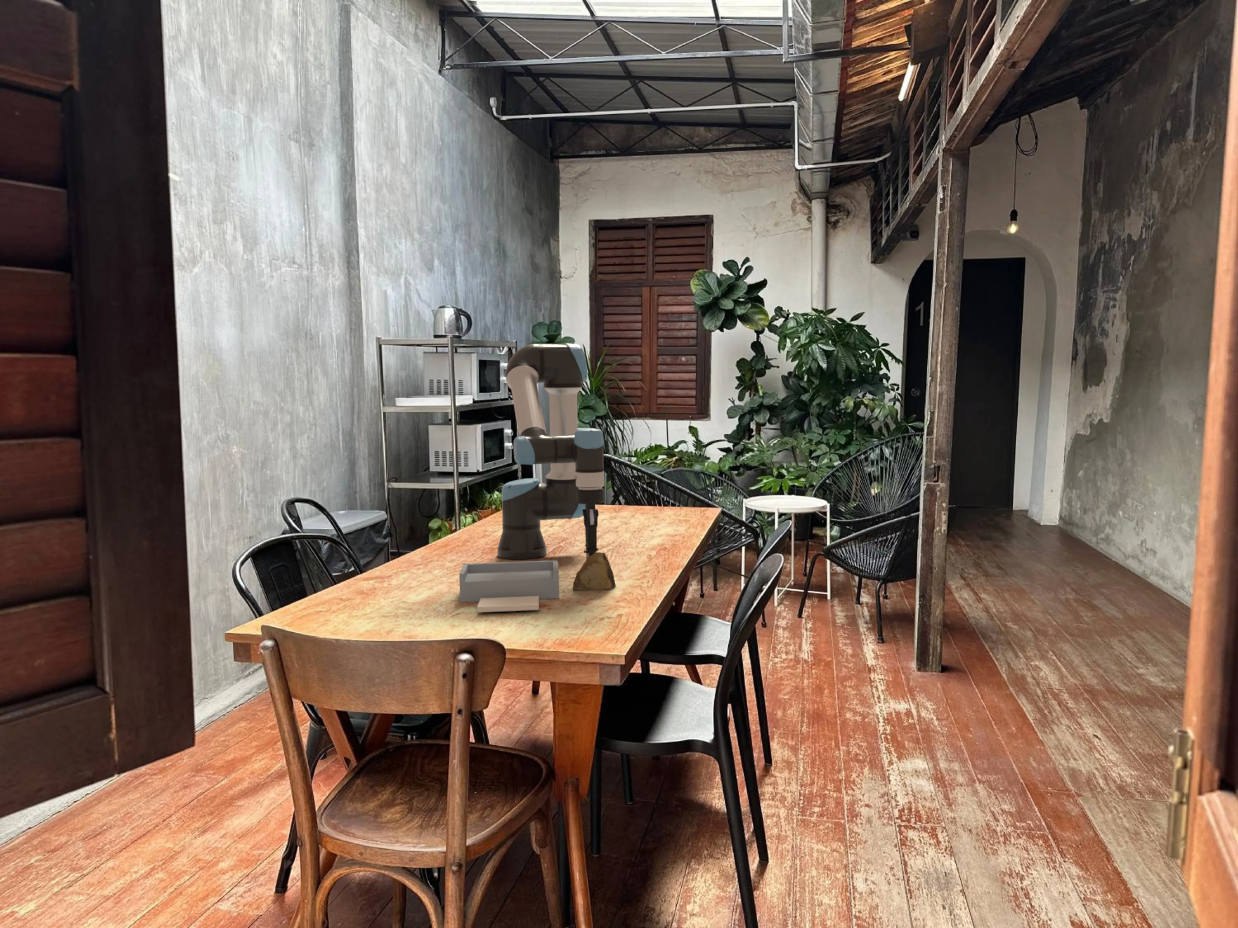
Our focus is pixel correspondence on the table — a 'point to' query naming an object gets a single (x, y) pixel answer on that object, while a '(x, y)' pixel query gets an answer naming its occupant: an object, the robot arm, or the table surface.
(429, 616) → the table surface
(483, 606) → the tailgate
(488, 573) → the bed
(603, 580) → the rock
